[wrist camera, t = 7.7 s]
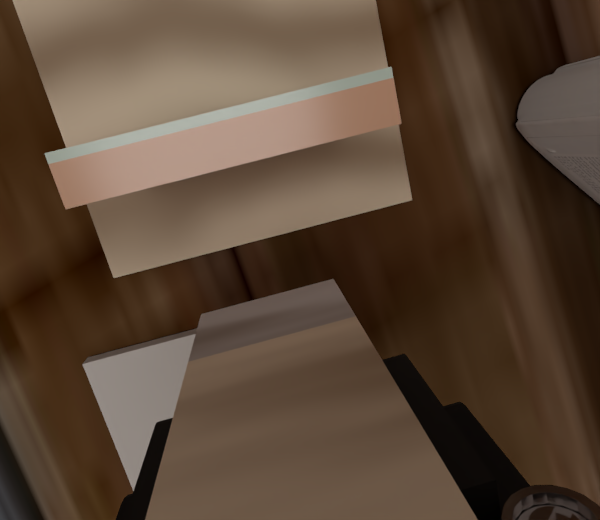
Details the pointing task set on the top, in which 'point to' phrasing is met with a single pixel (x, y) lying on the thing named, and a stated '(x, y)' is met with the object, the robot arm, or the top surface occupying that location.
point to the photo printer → (567, 122)
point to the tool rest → (139, 391)
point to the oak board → (210, 97)
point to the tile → (224, 138)
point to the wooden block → (296, 423)
